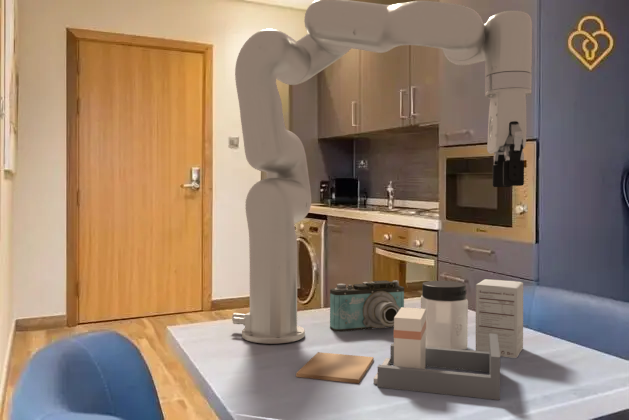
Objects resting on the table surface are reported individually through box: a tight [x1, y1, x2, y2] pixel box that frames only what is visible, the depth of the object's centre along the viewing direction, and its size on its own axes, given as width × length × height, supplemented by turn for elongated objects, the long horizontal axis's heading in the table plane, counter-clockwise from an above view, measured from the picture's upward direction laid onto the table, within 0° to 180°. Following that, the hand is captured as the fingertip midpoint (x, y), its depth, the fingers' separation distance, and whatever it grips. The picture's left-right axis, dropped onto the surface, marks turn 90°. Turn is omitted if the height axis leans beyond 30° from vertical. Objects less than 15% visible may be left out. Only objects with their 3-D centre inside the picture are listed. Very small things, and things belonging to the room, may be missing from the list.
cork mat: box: [295, 351, 375, 384], centre depth 89 cm, size 10×12×1 cm
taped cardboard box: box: [393, 306, 426, 369], centre depth 85 cm, size 4×8×10 cm, turn 163°
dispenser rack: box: [373, 334, 501, 401], centre depth 84 cm, size 18×13×6 cm
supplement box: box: [475, 278, 524, 359], centre depth 100 cm, size 7×7×13 cm
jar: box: [420, 280, 469, 350], centre depth 102 cm, size 9×8×12 cm
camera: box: [329, 279, 405, 332], centre depth 114 cm, size 16×10×10 cm, turn 109°
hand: (507, 186), depth 94 cm, fingers open, 9 cm apart
